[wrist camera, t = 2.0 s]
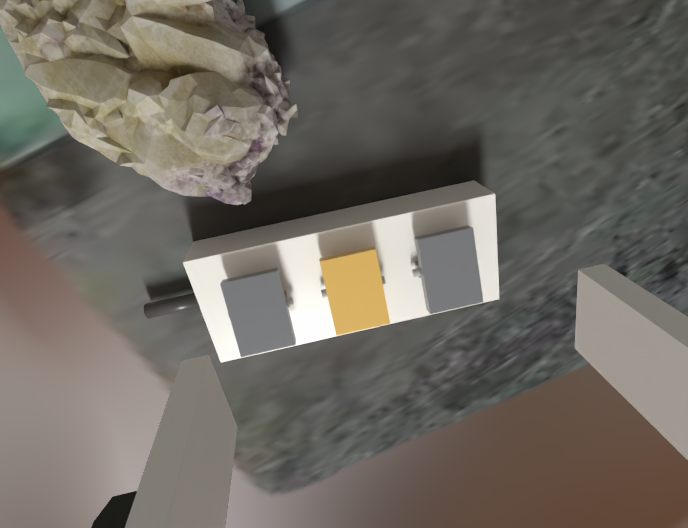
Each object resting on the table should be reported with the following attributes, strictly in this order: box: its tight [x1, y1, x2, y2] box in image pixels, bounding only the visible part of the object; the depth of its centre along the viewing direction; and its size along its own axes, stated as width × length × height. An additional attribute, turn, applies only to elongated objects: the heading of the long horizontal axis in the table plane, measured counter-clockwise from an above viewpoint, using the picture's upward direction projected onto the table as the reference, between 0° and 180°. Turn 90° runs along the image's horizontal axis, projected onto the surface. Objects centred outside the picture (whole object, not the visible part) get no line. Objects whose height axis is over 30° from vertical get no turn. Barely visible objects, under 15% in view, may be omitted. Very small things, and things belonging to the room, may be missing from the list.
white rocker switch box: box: [144, 180, 499, 362], centre depth 35 cm, size 9×28×5 cm, turn 101°
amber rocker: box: [319, 246, 390, 336], centre depth 32 cm, size 6×4×1 cm
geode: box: [0, 0, 298, 205], centre depth 27 cm, size 17×9×15 cm
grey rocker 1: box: [220, 268, 296, 357], centre depth 32 cm, size 6×4×1 cm
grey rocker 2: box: [414, 225, 483, 314], centre depth 32 cm, size 6×4×1 cm
